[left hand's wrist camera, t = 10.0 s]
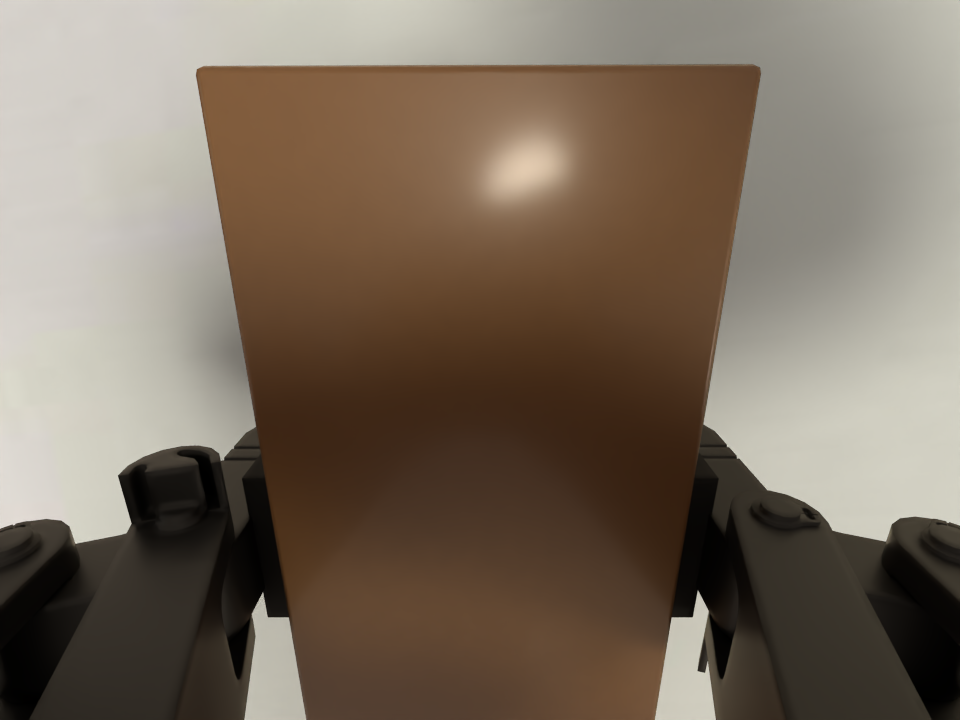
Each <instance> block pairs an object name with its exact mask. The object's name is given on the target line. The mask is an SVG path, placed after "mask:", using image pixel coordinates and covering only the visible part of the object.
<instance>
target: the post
mask: <svg viewBox="0 0 960 720" xmlns="http://www.w3.org/2000/svg"><path fill="white" fill-rule="evenodd" d="M760 76H761V71H760V67H757V66H755V65H753V64H688V65H360V66H203V67H201V68H199V69H197V72H196V77H197V83H198V89H199V95H200V101H201V107H202V112H203V118H204V124H205V130H206V136H207V142H208V147H209V153H210V159H211V165H212V171H213V177H214V182H215V188H216V194H217V200H218V206H219V212H220V217H221V223H222V229H223V235H224V241H225V247H226V252H227V258H228V264H229V270H230V276H231V282H232V288H233V293H234V299H235V305H236V311H237V317H238V323H239V328H240V334H241V340H242V346H243V352H244V358H245V363H246V369H247V375H248V381H249V387H250V393H251V398H252V404H253V410H254V416H255V422H256V428H257V433H258V439H259V445H260V451H261V457H262V463H263V468H264V474H265V480H266V486H267V492H268V498H269V504H270V509H271V515H272V521H273V527H274V533H275V539H276V544H277V550H278V556H279V562H280V568H281V574H282V579H283V585H284V591H285V597H286V603H287V609H288V614H289V620H290V626H291V632H292V638H293V644H294V649H295V655H296V661H297V667H298V673H299V679H300V684H301V690H302V696H303V702H304V708H305V714H306V720H655V714H656V708H657V702H658V696H659V690H660V684H661V678H662V672H663V666H664V660H665V653H666V647H667V641H668V635H669V629H670V623H671V617H672V611H673V605H674V599H675V593H676V587H677V580H678V574H679V568H680V562H681V556H682V550H683V544H684V538H685V532H686V526H687V520H688V514H689V507H690V501H691V495H692V489H693V483H694V477H695V471H696V465H697V459H698V453H699V447H700V441H701V434H702V428H703V422H704V416H705V410H706V404H707V398H708V392H709V386H710V380H711V374H712V368H713V361H714V355H715V349H716V343H717V337H718V331H719V325H720V319H721V313H722V307H723V301H724V295H725V288H726V282H727V276H728V270H729V264H730V258H731V252H732V246H733V240H734V234H735V228H736V222H737V215H738V209H739V203H740V197H741V191H742V185H743V179H744V173H745V167H746V161H747V155H748V149H749V142H750V136H751V130H752V124H753V118H754V112H755V106H756V100H757V94H758V88H759V82H760Z"/></svg>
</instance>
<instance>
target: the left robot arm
mask: <svg viewBox="0 0 960 720" xmlns="http://www.w3.org/2000/svg"><path fill="white" fill-rule="evenodd" d="M118 477H119V481H120V484H121V488H122V491H123V495H124V498H125V502H126V505H127V509H128V512H129V516H130V519H131V523H132V524H131V526H130V528H129V530H128V532H127V534H123V535H119V536H114V537H109V538H104V539H99V540H93V541H88V542H83V543H78V544H75V542H74V539H73V536H72V533H71V530H70V527H69V526H68V525H66V524H65V523H64V522H62V521H59V520H50V519H43V520H36V521H26V522H21V523H17V524H15V525H14V526H13V525H10V526H7V527H4V528H1V529H0V720H244V717H245V710H246V702H247V695H248V688H249V680H250V673H251V665H252V658H253V651H254V643H255V630H254V624H253V619H252V612H253V610H254V608H255V606H256V604H257V602H258V600H259V598H260V596H261V594H262V593H263V594H264V599H265V604H266V609H267V615H268V617H289V614H288V609H287V603H286V597H285V591H284V585H283V579H282V574H281V568H280V562H279V556H278V550H277V544H276V539H275V533H274V527H273V521H272V515H271V509H270V504H269V498H268V492H267V486H266V480H265V474H264V468H263V463H262V457H261V451H260V445H259V439H258V433H257V428H254V429H252V430H250V431H249V432H247V433H246V434H245V435H244V436H243V437H242V438H241V439H240V441H239V442H238V443H237V444H236V445H235V446H234V449H232V450H231V451H230V452H229V453H228V454H227V455H226V456H225V458H224V461H220V456H219V453H217V452H216V451H215V450H213V449H212V448H208V447H203V446H181V447H176V448H171V449H166V450H162V451H159V452H156V453H153V454H151V455H148V456H145V457H143V458H141V459H139V460H137V461H136V462H134V463H132V464H130V465H129V466H127V467H126V468H125V469H124V470H123V471H122V472H121V473H120V474H119V475H118ZM697 591H699V593H700V595H701V597H702V599H703V600H704V602H705V604H706V606H707V608H708V610H709V614H708V619H707V624H706V628H705V633H704V638H703V643H702V648H701V653H700V658H699V665H698V671H700V672H704V673H705V670H706V665H707V661H708V664H709V671H710V679H711V686H712V694H713V701H714V708H715V716H716V720H960V526H959V525H956V524H953V523H950V522H949V523H947V522H946V521H942V520H938V519H928V518H921V517H909V518H900V519H899V520H897V521H896V522H895V523H893V524H892V526H891V529H890V532H889V535H888V538H887V541H886V542H884V541H879V540H874V539H869V538H864V537H859V536H854V535H849V534H843V533H839V532H835V531H832V529H831V527H830V525H829V523H828V522H827V521H826V520H825V519H824V517H823V516H822V515H821V514H820V513H819V512H818V511H817V510H815V509H814V508H812V507H811V506H809V505H808V504H806V503H805V502H802V501H800V500H798V499H795V498H793V497H791V496H788V495H785V494H781V493H777V492H773V491H769V490H767V489H766V488H765V487H764V486H763V485H762V484H761V483H760V482H759V480H758V479H757V478H756V477H755V476H754V475H753V474H752V473H751V471H750V470H749V469H748V468H747V467H746V466H745V465H744V464H743V462H742V461H741V460H740V459H737V456H736V455H735V453H734V452H733V451H732V450H731V449H730V448H729V447H727V444H726V443H725V442H724V441H723V440H722V439H721V438H720V437H719V435H718V434H717V433H716V432H715V431H713V430H712V429H710V428H708V427H707V426H705V425H703V428H702V434H701V441H700V447H699V453H698V459H697V465H696V471H695V477H694V483H693V489H692V495H691V501H690V507H689V514H688V520H687V526H686V532H685V538H684V544H683V550H682V556H681V562H680V568H679V574H678V580H677V587H676V593H675V599H674V605H673V611H672V617H693V612H694V607H695V602H696V597H697Z"/></svg>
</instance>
